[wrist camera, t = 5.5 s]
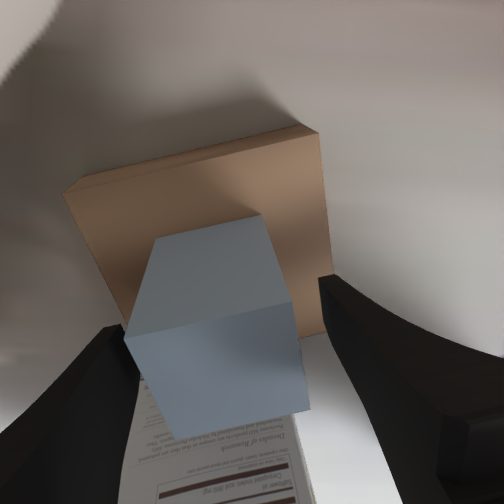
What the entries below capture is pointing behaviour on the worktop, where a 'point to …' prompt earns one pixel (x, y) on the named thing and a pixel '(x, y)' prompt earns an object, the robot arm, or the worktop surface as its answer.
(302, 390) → the slate block
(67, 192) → the tan flat square block
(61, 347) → the worktop surface
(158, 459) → the supplement box
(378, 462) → the worktop surface
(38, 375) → the worktop surface
